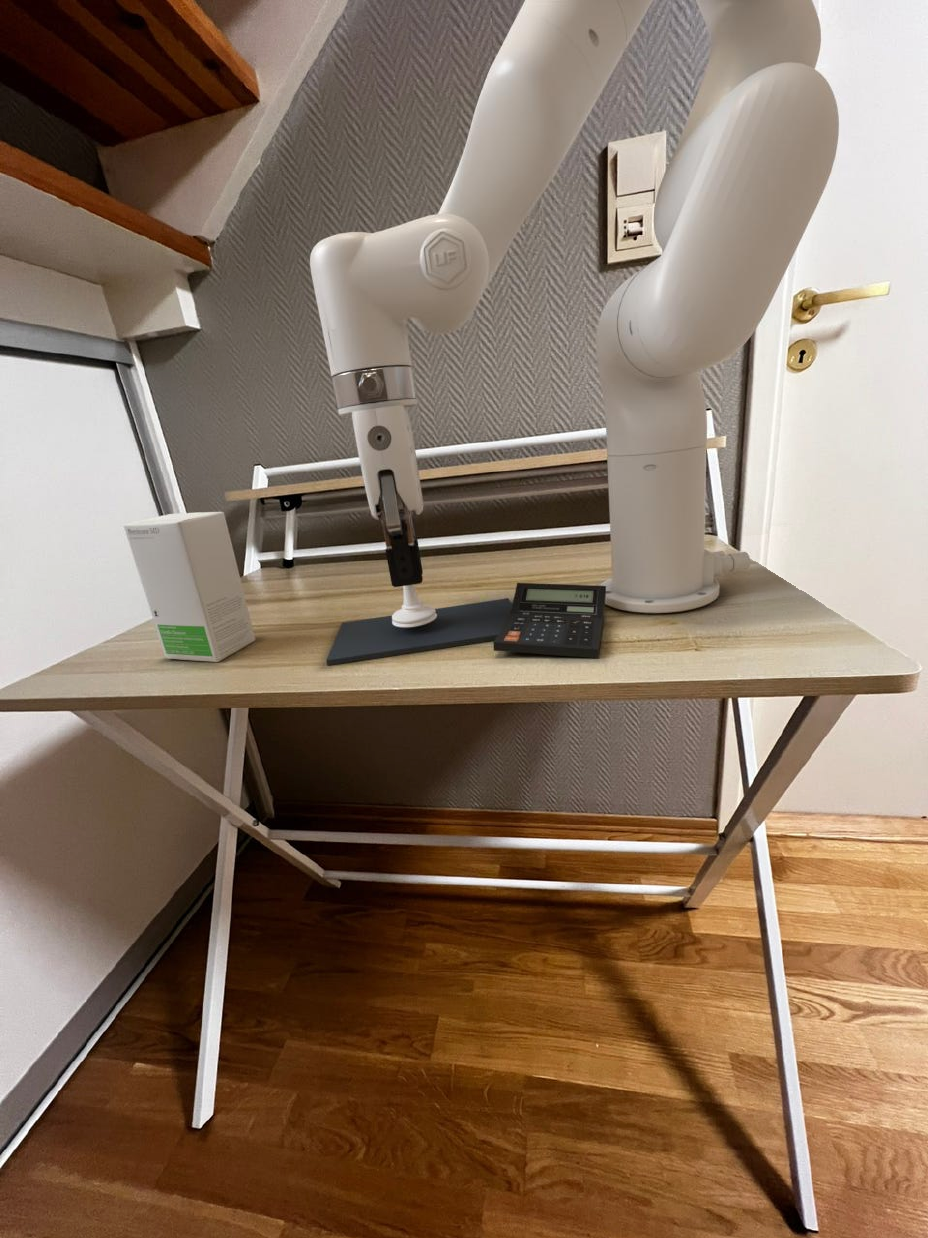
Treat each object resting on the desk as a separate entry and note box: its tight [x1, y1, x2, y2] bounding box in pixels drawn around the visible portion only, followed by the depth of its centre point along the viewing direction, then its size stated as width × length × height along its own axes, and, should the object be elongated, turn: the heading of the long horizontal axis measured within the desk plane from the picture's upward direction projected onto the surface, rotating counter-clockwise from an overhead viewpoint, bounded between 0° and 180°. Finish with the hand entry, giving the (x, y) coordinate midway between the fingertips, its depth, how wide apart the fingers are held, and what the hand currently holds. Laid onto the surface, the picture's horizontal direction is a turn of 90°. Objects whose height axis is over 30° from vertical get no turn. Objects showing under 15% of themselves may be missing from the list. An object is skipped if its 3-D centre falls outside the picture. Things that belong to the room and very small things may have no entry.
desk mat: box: [325, 597, 512, 666], centre depth 59 cm, size 20×11×1 cm, turn 94°
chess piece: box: [391, 584, 437, 628], centre depth 57 cm, size 5×5×10 cm
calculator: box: [492, 582, 606, 659], centre depth 53 cm, size 9×12×3 cm
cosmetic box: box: [122, 511, 256, 663], centre depth 60 cm, size 8×7×16 cm
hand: (407, 579), depth 57 cm, fingers closed on chess piece
